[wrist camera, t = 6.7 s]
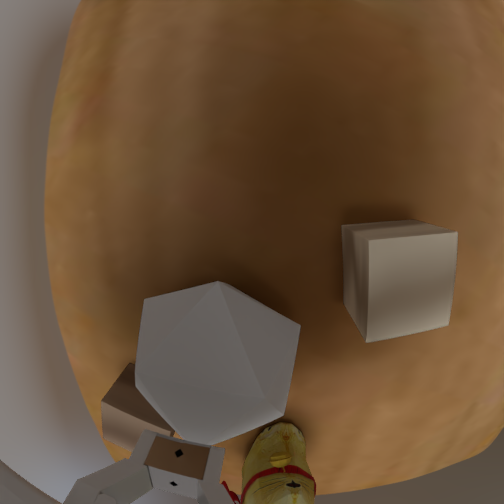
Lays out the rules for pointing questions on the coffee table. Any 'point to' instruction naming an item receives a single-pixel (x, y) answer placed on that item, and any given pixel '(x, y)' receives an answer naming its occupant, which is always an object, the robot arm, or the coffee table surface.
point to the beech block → (398, 277)
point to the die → (214, 361)
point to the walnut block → (129, 413)
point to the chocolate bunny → (277, 469)
